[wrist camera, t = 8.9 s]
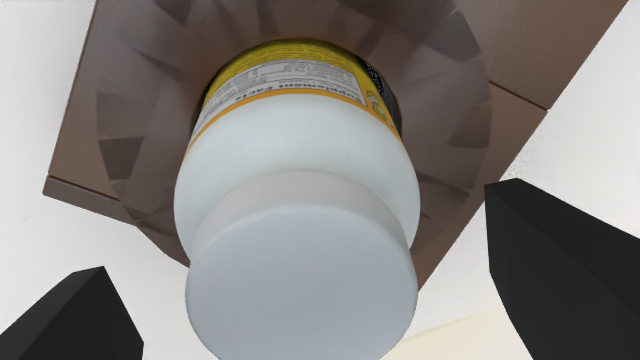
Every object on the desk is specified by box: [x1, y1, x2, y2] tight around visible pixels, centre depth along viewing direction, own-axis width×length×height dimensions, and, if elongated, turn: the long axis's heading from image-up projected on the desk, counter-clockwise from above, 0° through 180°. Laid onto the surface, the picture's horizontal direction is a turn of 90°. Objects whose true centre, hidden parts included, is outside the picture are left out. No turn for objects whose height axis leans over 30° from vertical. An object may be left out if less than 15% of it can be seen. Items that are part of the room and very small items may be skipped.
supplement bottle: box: [174, 38, 420, 360], centre depth 13 cm, size 5×5×10 cm
